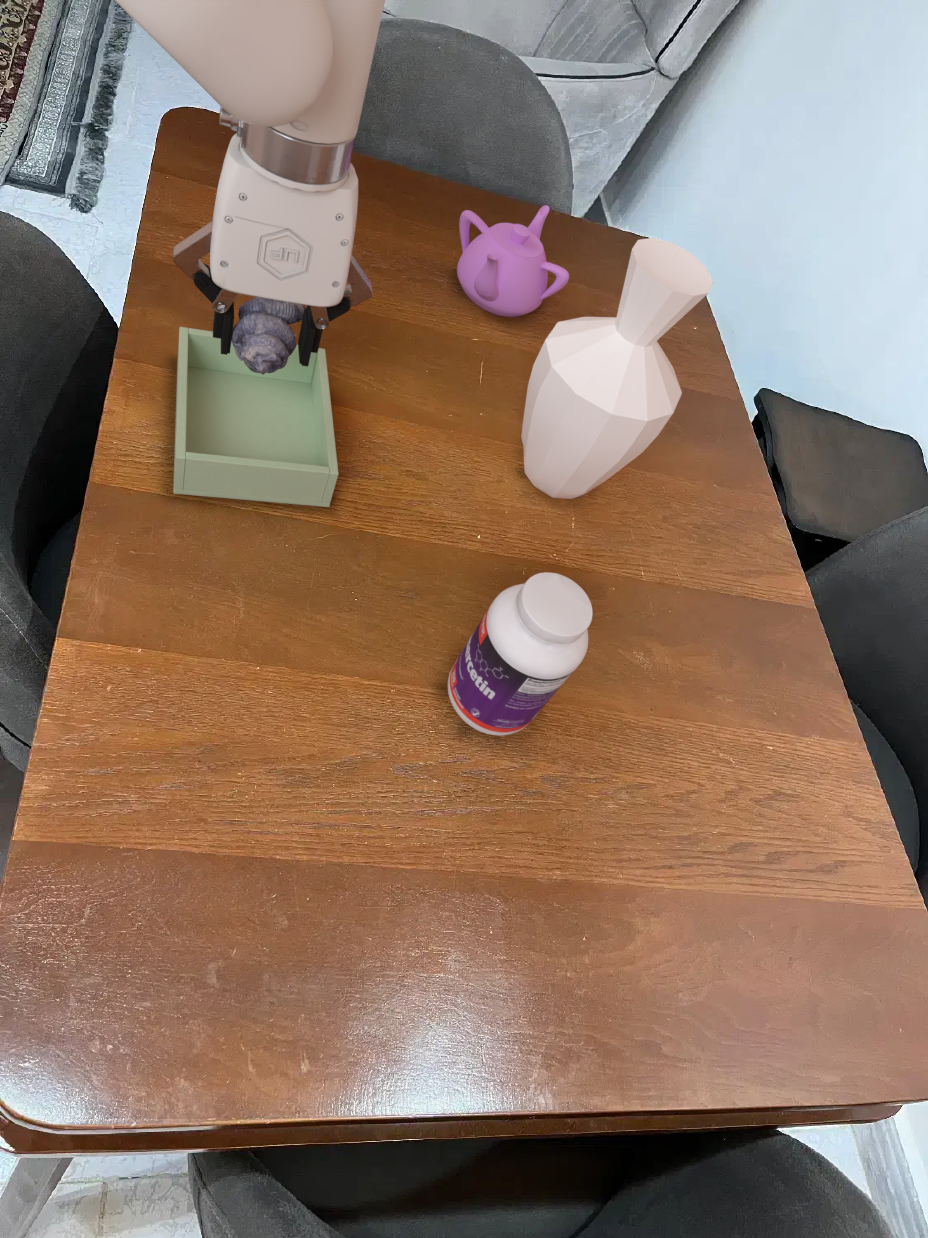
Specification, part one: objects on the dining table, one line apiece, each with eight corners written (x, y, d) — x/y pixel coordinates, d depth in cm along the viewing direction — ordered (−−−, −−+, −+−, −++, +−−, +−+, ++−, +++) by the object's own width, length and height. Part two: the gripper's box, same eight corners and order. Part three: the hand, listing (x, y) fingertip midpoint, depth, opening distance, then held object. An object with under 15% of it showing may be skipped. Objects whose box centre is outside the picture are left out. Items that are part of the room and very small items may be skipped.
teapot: (464, 321, 100) (489, 255, 93) (440, 249, 107) (461, 183, 100) (552, 332, 105) (582, 271, 98) (524, 263, 112) (550, 201, 105)
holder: (173, 493, 72) (175, 457, 69) (177, 363, 81) (179, 325, 78) (329, 507, 77) (338, 474, 74) (317, 383, 86) (325, 348, 82)
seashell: (262, 326, 75) (252, 404, 70) (229, 277, 71) (215, 356, 66) (315, 307, 74) (309, 385, 69) (284, 256, 70) (275, 335, 64)
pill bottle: (434, 658, 72) (491, 556, 60) (519, 654, 75) (588, 556, 63) (456, 745, 68) (522, 652, 56) (544, 737, 71) (623, 648, 59)
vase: (613, 537, 87) (752, 345, 68) (485, 492, 85) (591, 279, 65) (618, 447, 96) (742, 254, 76) (502, 404, 94) (600, 193, 74)
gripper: (162, 138, 52) (155, 364, 66) (425, 197, 58) (367, 393, 72) (166, 78, 56) (158, 304, 70) (411, 140, 62) (359, 336, 76)
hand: (264, 347), depth 71 cm, fingers closed on seashell, 5 cm apart
